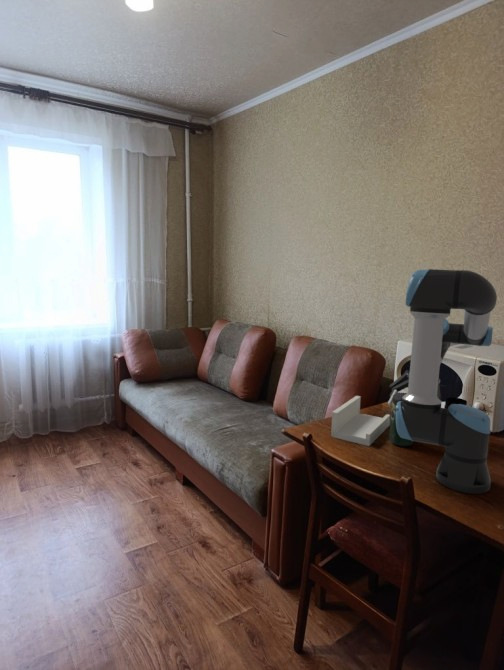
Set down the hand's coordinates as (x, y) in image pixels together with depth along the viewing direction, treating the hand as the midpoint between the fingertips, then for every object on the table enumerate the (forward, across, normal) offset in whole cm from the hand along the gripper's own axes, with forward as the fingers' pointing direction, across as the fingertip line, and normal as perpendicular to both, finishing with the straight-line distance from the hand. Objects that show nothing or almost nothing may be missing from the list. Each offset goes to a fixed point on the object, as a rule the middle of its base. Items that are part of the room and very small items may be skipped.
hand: (405, 409), depth 163 cm
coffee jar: (+10, 0, -7) cm, 12 cm away
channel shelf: (+12, +16, -5) cm, 20 cm away
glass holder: (-4, -14, -21) cm, 25 cm away
